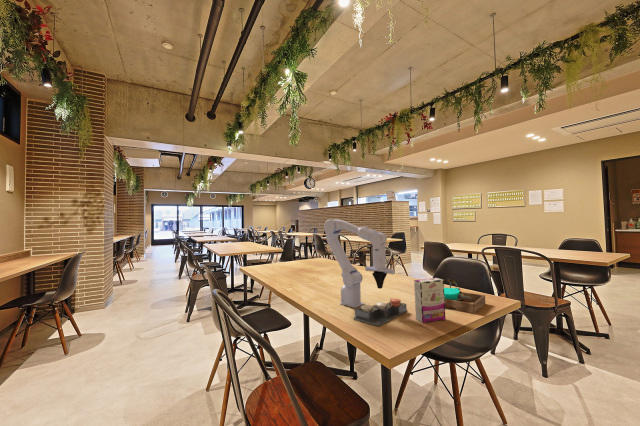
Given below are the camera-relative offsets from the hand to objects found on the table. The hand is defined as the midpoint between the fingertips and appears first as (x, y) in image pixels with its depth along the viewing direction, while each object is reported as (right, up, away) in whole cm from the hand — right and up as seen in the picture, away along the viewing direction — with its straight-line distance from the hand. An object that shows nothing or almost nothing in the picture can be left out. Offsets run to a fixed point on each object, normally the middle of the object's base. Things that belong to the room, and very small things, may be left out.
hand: (380, 288), depth 125 cm
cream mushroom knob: (-8, -9, -10) cm, 16 cm away
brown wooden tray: (+38, -9, +6) cm, 39 cm away
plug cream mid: (-1, -9, -7) cm, 11 cm away
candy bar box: (+18, -9, -14) cm, 24 cm away
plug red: (+6, -8, -4) cm, 11 cm away
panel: (-1, -10, -7) cm, 12 cm away
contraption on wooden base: (+37, -10, +5) cm, 38 cm away
